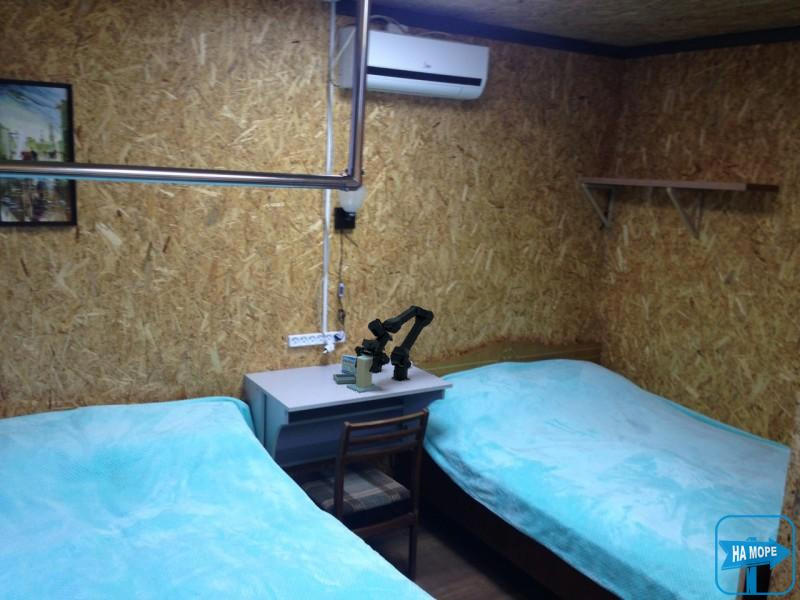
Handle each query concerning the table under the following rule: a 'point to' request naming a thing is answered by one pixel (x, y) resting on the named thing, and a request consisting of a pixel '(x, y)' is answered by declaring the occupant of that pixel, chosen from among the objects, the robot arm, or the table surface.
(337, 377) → the charcoal tray
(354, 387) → the slate board
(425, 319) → the robot arm
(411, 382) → the table surface
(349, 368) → the medicine box
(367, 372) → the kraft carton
